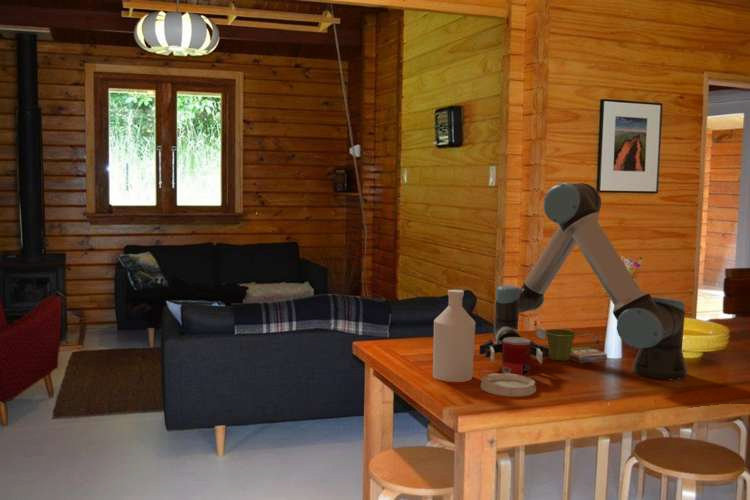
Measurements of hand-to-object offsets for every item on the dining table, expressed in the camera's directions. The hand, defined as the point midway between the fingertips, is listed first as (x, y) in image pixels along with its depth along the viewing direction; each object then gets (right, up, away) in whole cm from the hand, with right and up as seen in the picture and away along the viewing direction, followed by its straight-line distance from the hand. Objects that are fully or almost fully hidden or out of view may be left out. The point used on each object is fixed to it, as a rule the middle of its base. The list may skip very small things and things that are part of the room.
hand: (517, 357), depth 222 cm
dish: (-4, -7, -9) cm, 12 cm away
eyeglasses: (+28, -2, +57) cm, 64 cm away
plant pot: (+18, -4, +27) cm, 33 cm away
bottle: (-18, -6, +2) cm, 19 cm away
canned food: (0, -6, +4) cm, 7 cm away
